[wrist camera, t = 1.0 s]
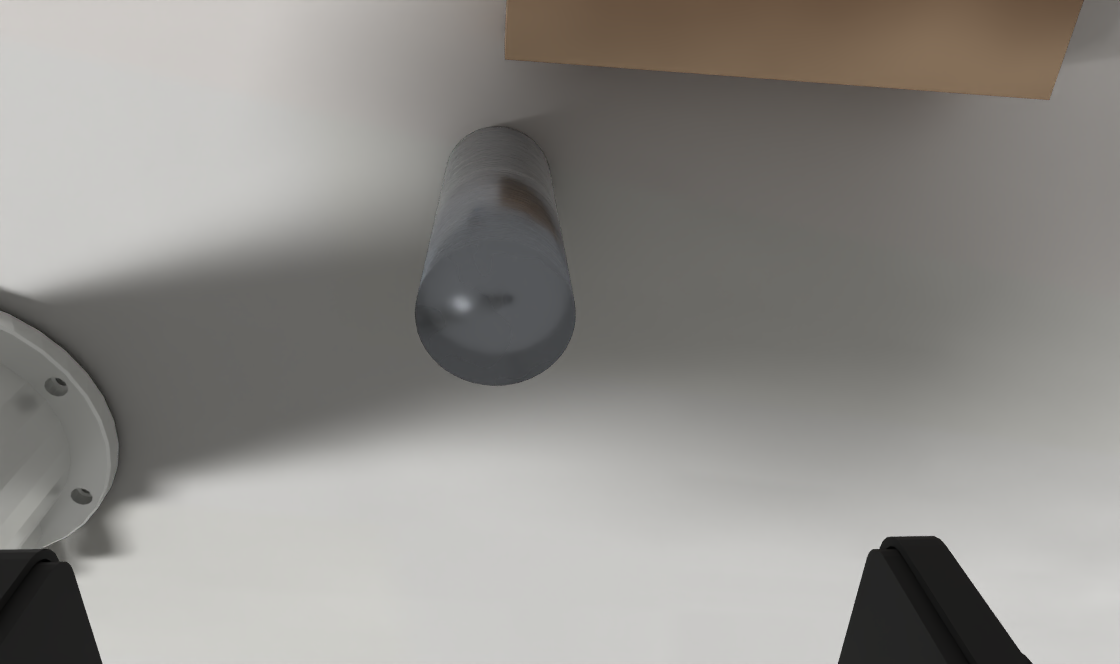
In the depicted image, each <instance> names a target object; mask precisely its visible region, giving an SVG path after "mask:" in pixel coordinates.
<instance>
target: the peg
mask: <svg viewBox="0 0 1120 664" xmlns="http://www.w3.org/2000/svg"><path fill="white" fill-rule="evenodd" d="M415 319H416V326H417V331H418V334H419V336H420V339H421V341H422V343H423V345H424V347H425V349H426V350H427V352H428V353H429V354H430V356H431V357H432V358H433V359H434V360H435V361H436V362H437V363H438V364H439V365H440V366H441V367H443V368H444V369H445V370H447V371H448V372H450V373H451V374H453V375H455V376H457V377H459V378H461V379H463V380H466V381H469V382H472V383H477V384H482V385H492V386H495V385H509V384H515V383H519V382H522V381H525V380H528V379H530V378H533V377H534V376H536V375H538V374H540V373H542V372H543V371H545V370H546V369H548V368H549V367H550V366H551V365H552V364H553V363H554V362H555V361H556V360H557V359H558V358H559V357H560V356H561V355H562V353H563V352H564V350H565V349H566V347H567V345H568V343H569V341H570V339H571V336H572V333H573V330H574V325H575V303H574V297H573V292H572V286H571V281H570V276H569V270H568V265H567V260H566V255H565V249H564V244H563V239H562V233H561V228H560V223H559V217H558V212H557V207H556V201H555V196H554V191H553V186H552V180H551V175H550V170H549V166H548V162H547V160H546V157H545V155H544V154H543V152H542V150H541V149H540V148H539V146H538V145H537V144H536V143H535V142H534V141H533V140H532V139H531V138H529V137H528V136H527V135H525V134H523V133H521V132H519V131H517V130H514V129H510V128H506V127H488V128H484V129H480V130H477V131H475V132H473V133H471V134H469V135H468V136H466V137H465V138H464V139H463V140H461V141H460V142H459V143H458V145H457V146H456V147H455V148H454V150H453V151H452V153H451V155H450V157H449V160H448V163H447V167H446V171H445V176H444V180H443V185H442V189H441V194H440V198H439V202H438V207H437V211H436V216H435V220H434V225H433V229H432V234H431V238H430V243H429V247H428V251H427V256H426V260H425V265H424V269H423V274H422V278H421V283H420V287H419V292H418V296H417V300H416V307H415Z"/></svg>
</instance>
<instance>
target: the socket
mask: <svg viewBox="0 0 1120 664" xmlns="http://www.w3.org/2000/svg"><path fill="white" fill-rule="evenodd" d="M1083 1H1084V0H507V2H506V23H505V59H507V60H520V61H534V62H547V63H560V64H574V65H587V66H601V67H614V68H627V69H641V70H654V71H668V72H681V73H695V74H708V75H721V76H735V77H748V78H762V79H775V80H788V81H802V82H815V83H829V84H842V85H855V86H869V87H882V88H896V89H909V90H923V91H936V92H949V93H963V94H976V95H990V96H1003V97H1016V98H1030V99H1043V100H1049V99H1050V96H1051V93H1052V90H1053V87H1054V85H1055V82H1056V79H1057V76H1058V73H1059V70H1060V67H1061V64H1062V61H1063V59H1064V56H1065V53H1066V50H1067V47H1068V44H1069V41H1070V38H1071V36H1072V33H1073V30H1074V27H1075V24H1076V21H1077V18H1078V15H1079V12H1080V10H1081V7H1082V4H1083Z"/></svg>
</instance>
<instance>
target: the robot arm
mask: <svg viewBox="0 0 1120 664" xmlns="http://www.w3.org/2000/svg"><path fill="white" fill-rule="evenodd" d="M118 451H119V443H118V438H117V433H116V428H115V423H114V419H113V417H112V415H111V413H110V410H109V408H108V406H107V403H106V401H105V399H104V397H103V395H102V394H101V392H100V391H99V389H98V388H97V387H96V385H95V384H94V382H93V381H92V379H91V378H90V376H89V375H88V373H87V372H86V371H85V370H84V369H83V368H82V367H81V366H80V365H79V364H78V363H77V362H76V361H75V360H74V359H73V358H72V357H71V356H70V355H69V354H68V353H67V352H66V351H65V350H64V349H63V348H61V347H60V346H59V345H57V344H56V343H55V342H53V341H52V340H51V339H50V338H48V337H47V336H46V335H44V334H43V333H42V332H40V331H39V330H37V329H35V328H33V327H32V326H30V325H28V324H26V323H24V322H23V321H21V320H19V319H17V318H16V317H14V316H12V315H10V314H8V313H5V312H2V311H0V664H102V661H101V658H100V654H99V651H98V648H97V645H96V642H95V639H94V635H93V632H92V629H91V626H90V623H89V619H88V616H87V613H86V610H85V607H84V604H83V600H82V597H81V594H80V591H79V588H78V585H77V581H76V578H75V575H74V572H73V569H72V567H71V565H70V564H68V563H67V562H59V560H58V558H57V556H56V554H55V553H54V552H53V551H51V550H50V549H40V548H43V547H46V546H48V545H51V544H53V543H55V542H57V541H59V540H62V539H64V538H66V537H67V536H69V535H70V534H72V533H73V532H74V531H76V530H77V529H78V528H80V527H81V526H82V525H84V524H85V523H86V522H87V520H88V519H89V518H90V517H91V516H92V514H93V513H94V512H95V511H96V510H97V508H98V507H99V506H100V504H101V502H102V501H103V499H104V498H105V496H106V494H107V493H108V491H109V490H110V488H111V486H112V483H113V480H114V477H115V474H116V470H117V467H118ZM838 664H1032V662H1031V661H1030V660H1029V659H1028V658H1027V657H1026V656H1025V655H1024V654H1022V653H1021V651H1020V650H1019V649H1018V647H1017V646H1016V644H1015V643H1014V642H1013V640H1012V639H1011V637H1010V636H1009V634H1008V633H1007V632H1006V630H1005V629H1004V627H1003V626H1002V625H1001V623H1000V622H999V620H998V619H997V617H996V616H995V615H994V613H993V612H992V610H991V609H990V607H989V606H988V605H987V603H986V602H985V600H984V599H983V598H982V596H981V595H980V593H979V592H978V590H977V589H976V588H975V586H974V585H973V583H972V582H971V581H970V579H969V578H968V576H967V575H966V573H965V572H964V571H963V569H962V568H961V566H960V565H959V563H958V562H957V561H956V559H955V558H954V556H953V555H952V554H951V552H950V551H949V549H948V548H947V546H946V545H945V544H944V543H943V542H942V541H941V540H940V539H939V538H937V537H935V536H907V537H887V538H886V539H885V540H884V541H883V542H882V544H881V547H880V549H873V550H871V551H870V552H869V554H868V557H867V560H866V563H865V567H864V571H863V574H862V578H861V582H860V585H859V589H858V592H857V596H856V600H855V603H854V607H853V611H852V614H851V618H850V622H849V625H848V629H847V633H846V636H845V640H844V643H843V647H842V651H841V654H840V658H839V662H838Z"/></svg>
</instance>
